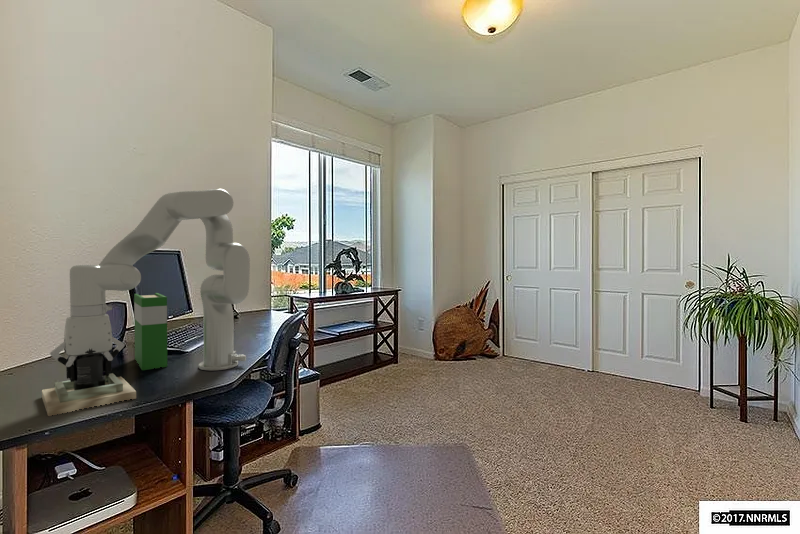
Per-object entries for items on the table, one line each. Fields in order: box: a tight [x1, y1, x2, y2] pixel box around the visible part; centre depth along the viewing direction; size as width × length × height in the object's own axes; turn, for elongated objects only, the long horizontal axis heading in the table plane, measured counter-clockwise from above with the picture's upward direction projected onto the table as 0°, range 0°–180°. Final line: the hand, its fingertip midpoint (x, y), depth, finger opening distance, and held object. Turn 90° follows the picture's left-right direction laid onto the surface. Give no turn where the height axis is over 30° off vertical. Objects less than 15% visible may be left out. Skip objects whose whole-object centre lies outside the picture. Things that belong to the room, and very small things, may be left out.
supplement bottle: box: [73, 348, 105, 391], centre depth 111 cm, size 7×7×12 cm
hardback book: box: [133, 292, 168, 371], centre depth 146 cm, size 18×7×24 cm, turn 39°
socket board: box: [41, 372, 137, 417], centre depth 111 cm, size 18×18×4 cm
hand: (89, 377), depth 111 cm, fingers closed on supplement bottle, 6 cm apart
